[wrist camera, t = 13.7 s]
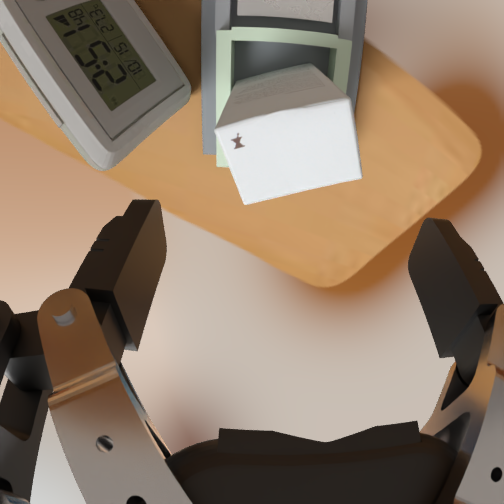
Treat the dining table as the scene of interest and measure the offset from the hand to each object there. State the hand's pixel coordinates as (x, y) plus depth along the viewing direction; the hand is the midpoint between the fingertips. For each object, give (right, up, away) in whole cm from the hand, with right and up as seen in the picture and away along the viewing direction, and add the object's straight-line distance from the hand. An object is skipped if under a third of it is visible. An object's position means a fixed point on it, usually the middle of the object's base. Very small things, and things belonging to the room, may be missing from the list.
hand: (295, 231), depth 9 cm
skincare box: (+1, +11, +13) cm, 18 cm away
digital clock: (-12, +17, +11) cm, 23 cm away
